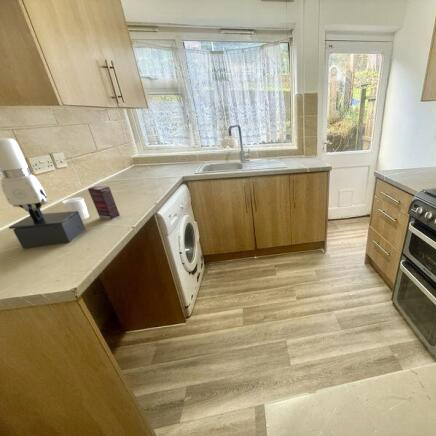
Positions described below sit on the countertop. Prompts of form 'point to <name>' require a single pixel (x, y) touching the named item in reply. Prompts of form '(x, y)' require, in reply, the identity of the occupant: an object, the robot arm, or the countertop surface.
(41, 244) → the box
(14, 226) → the lid
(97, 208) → the supplement box
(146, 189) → the countertop surface
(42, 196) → the robot arm
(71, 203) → the white cup
